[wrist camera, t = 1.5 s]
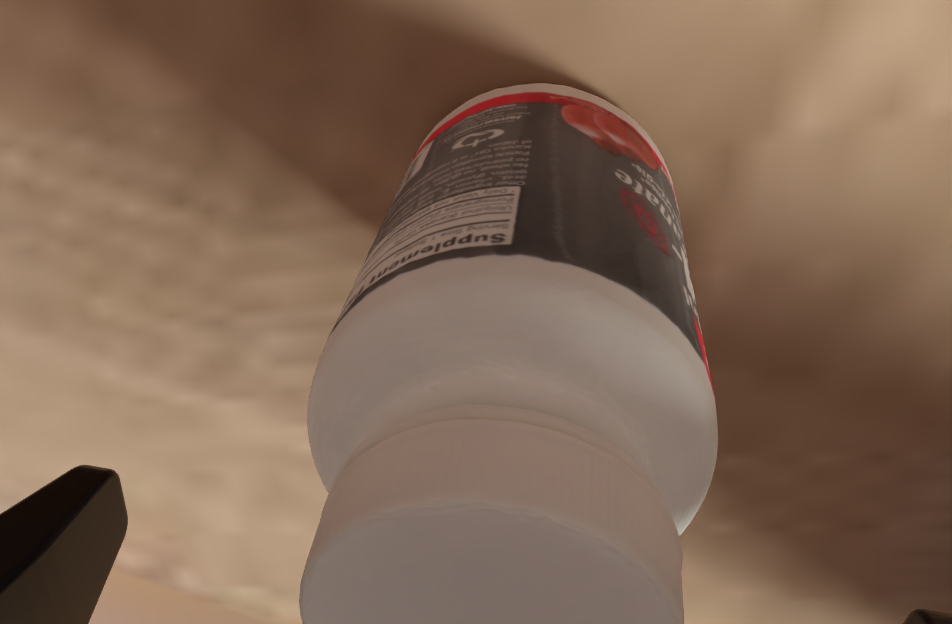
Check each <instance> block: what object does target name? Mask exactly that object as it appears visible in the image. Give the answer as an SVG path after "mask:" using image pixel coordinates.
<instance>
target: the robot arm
mask: <svg viewBox="0 0 952 624" xmlns="http://www.w3.org/2000/svg"><path fill="white" fill-rule="evenodd" d="M127 525H128V516H127V510H126V506H125V501H124V496H123V492H122V487H121V482H120V478H119V475H118V474H117V473H116V472H115V471H114V470H112V469H107V468H102V467H96V466H90V465H80V466H77V467H75V468H73V469H71V470H69V471H68V472H66V473H65V474H63V475H61V476H60V477H58V478H57V479H55V480H53V481H52V482H50V483H49V484H47V485H46V486H44V487H42V488H41V489H39V490H38V491H36V492H34V493H33V494H31V495H30V496H28V497H27V498H25V499H23V500H22V501H20V502H19V503H17V504H15V505H14V506H12V507H11V508H9V509H8V510H6V511H4V512H3V513H1V514H0V624H88V623H89V621H90V618H91V616H92V613H93V611H94V609H95V606H96V604H97V602H98V599H99V597H100V595H101V592H102V590H103V587H104V585H105V583H106V580H107V578H108V575H109V573H110V571H111V568H112V566H113V564H114V561H115V559H116V557H117V554H118V552H119V549H120V547H121V545H122V542H123V540H124V537H125V534H126V530H127ZM903 624H952V615H951V614H948V613H942V612H936V611H930V610H925V609H917V610H915V611H913V612H911V613H910V614H909V616H908V617H907V618H906V620H905V621H904V623H903Z"/></svg>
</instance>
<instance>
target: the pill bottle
mask: <svg viewBox="0 0 952 624" xmlns="http://www.w3.org/2000/svg"><path fill="white" fill-rule="evenodd" d="M307 425H308V435H309V442H310V447H311V452H312V456H313V459H314V463H315V465H316V468H317V471H318V473H319V475H320V478H321V480H322V482H323V484H324V486H325V488H326V490H327V491H328V493H329V495H328V498H327V500H326V502H325V505H324V508H323V511H322V515H321V519H320V523H319V526H318V529H317V532H316V535H315V538H314V541H313V544H312V546H311V549H310V552H309V555H308V558H307V562H306V565H305V569H304V572H303V576H302V580H301V585H300V598H299V603H300V614H301V618H302V621H303V624H684V609H683V594H682V579H681V570H682V547H681V541H680V537H679V536H680V535H681V534H682V533H683V531H684V530H685V529H686V528H687V526H688V525H689V524H690V522H691V521H692V519H693V518H694V516H695V515H696V513H697V511H698V510H699V508H700V506H701V504H702V502H703V500H704V498H705V497H706V494H707V492H708V489H709V486H710V484H711V481H712V478H713V473H714V469H715V465H716V460H717V449H718V424H717V414H716V404H715V395H714V390H713V385H712V380H711V376H710V371H709V366H708V361H707V356H706V350H705V345H704V340H703V337H702V331H701V326H700V321H699V315H698V310H697V307H696V301H695V295H694V290H693V286H692V282H691V276H690V270H689V266H688V258H687V253H686V249H685V243H684V238H683V231H682V225H681V221H680V212H679V208H678V202H677V199H676V195H675V192H674V187H673V183H672V179H671V176H670V173H669V171H668V168H667V166H666V164H665V162H664V159H663V157H662V155H661V153H660V152H659V150H658V148H657V147H656V145H655V143H654V142H653V141H652V139H651V138H650V137H649V135H648V134H647V133H646V132H645V131H644V129H643V128H642V127H641V126H640V125H639V124H638V123H637V122H636V121H635V120H634V119H633V118H632V117H630V116H629V115H628V114H626V113H625V112H624V111H622V110H621V109H619V108H618V107H616V106H614V105H613V104H611V103H609V102H607V101H606V100H604V99H602V98H600V97H598V96H595V95H592V94H590V93H587V92H584V91H581V90H578V89H575V88H572V87H569V86H565V85H555V84H547V83H534V84H523V85H514V86H510V87H506V88H497V89H494V90H491V91H489V92H486V93H483V94H480V95H478V96H476V97H474V98H472V99H470V100H468V101H466V102H465V103H464V104H462V105H461V106H459V107H458V108H456V109H455V110H453V111H452V112H451V113H450V114H449V115H447V116H446V117H445V118H444V119H442V120H441V121H440V122H439V123H438V124H437V125H436V126H435V127H434V128H433V129H432V131H431V132H430V133H429V134H428V136H427V137H426V138H425V139H424V141H423V143H422V144H421V146H420V147H419V149H418V151H417V153H416V154H415V156H414V158H413V160H412V162H411V164H410V166H409V167H408V169H407V171H406V173H405V175H404V178H403V180H402V182H401V184H400V186H399V188H398V191H397V193H396V195H395V198H394V200H393V202H392V204H391V207H390V209H389V211H388V214H387V216H386V218H385V220H384V222H383V224H382V226H381V228H380V230H379V232H378V234H377V237H376V239H375V241H374V243H373V245H372V247H371V249H370V251H369V253H368V256H367V258H366V260H365V263H364V265H363V267H362V268H361V270H360V272H359V274H358V276H357V279H356V281H355V283H354V286H353V288H352V290H351V292H350V294H349V296H348V299H347V301H346V303H345V305H344V307H343V310H342V312H341V314H340V316H339V318H338V320H337V322H336V324H335V326H334V328H333V330H332V332H331V333H330V335H329V338H328V340H327V343H326V345H325V348H324V350H323V352H322V354H321V356H320V359H319V362H318V366H317V369H316V372H315V375H314V378H313V382H312V386H311V391H310V396H309V402H308V417H307Z"/></svg>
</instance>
